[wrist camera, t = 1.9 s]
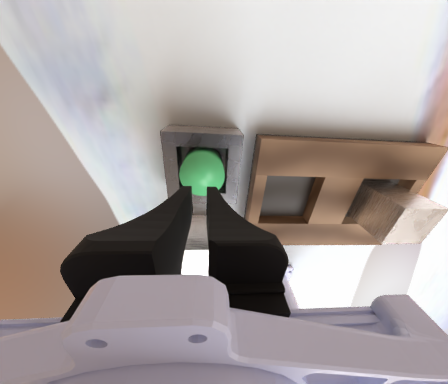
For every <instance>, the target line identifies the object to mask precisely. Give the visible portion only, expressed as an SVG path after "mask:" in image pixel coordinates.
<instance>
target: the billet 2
mask: <svg viewBox="0 0 448 384" xmlns="http://www.w3.org/2000/svg"><path fill="white" fill-rule="evenodd" d="M447 211H448V208H446V207H444V206H442V205H440V204H438V203H436V202H433V201H431V200H429V199H427V198H425V197H423V196H421V195H419V194H417V193H415V192H412V191H410V190H408V189H406V188H404V187H402V186H400V185H398V184H396V183H394V182H391V181H362V183H361V185H360V187H359V189H358V191H357V193H356V195H355V197H354V199H353V201H352V203H351V205H350V207H349V209H348V211H347V214H348V215H349V216H350V217H351V218H352V219H353V220H355V221H356V222H357V223H358V224H359V225H360V226H361V227H363V228H364V229H365V230H366V231H367V232H368V233H369V234H371V235H372V236H373V237H374V238H375V239H376V240H378V241H379V242H380V243H381V244H420V243H421V242H422V241H423V240H424V239H425V237H426V236H427V235H428V234H429V233H430V232H431V230H432V229H433V228H434V227H435V226H436V224H437V223H438V222H439V221H440V220H441V219H442V217H443V216H444V215H445V214H446V213H447Z"/></svg>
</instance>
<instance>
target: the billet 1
mask: <svg viewBox="0 0 448 384" xmlns="http://www.w3.org/2000/svg"><path fill="white" fill-rule="evenodd" d="M186 274H198V275H205V276H208V238H207V225H206V215H192V222H191V226H190V230H189V234H188V238H187V242H186V246H185V251H184V255H183V262H182V275H186Z"/></svg>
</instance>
